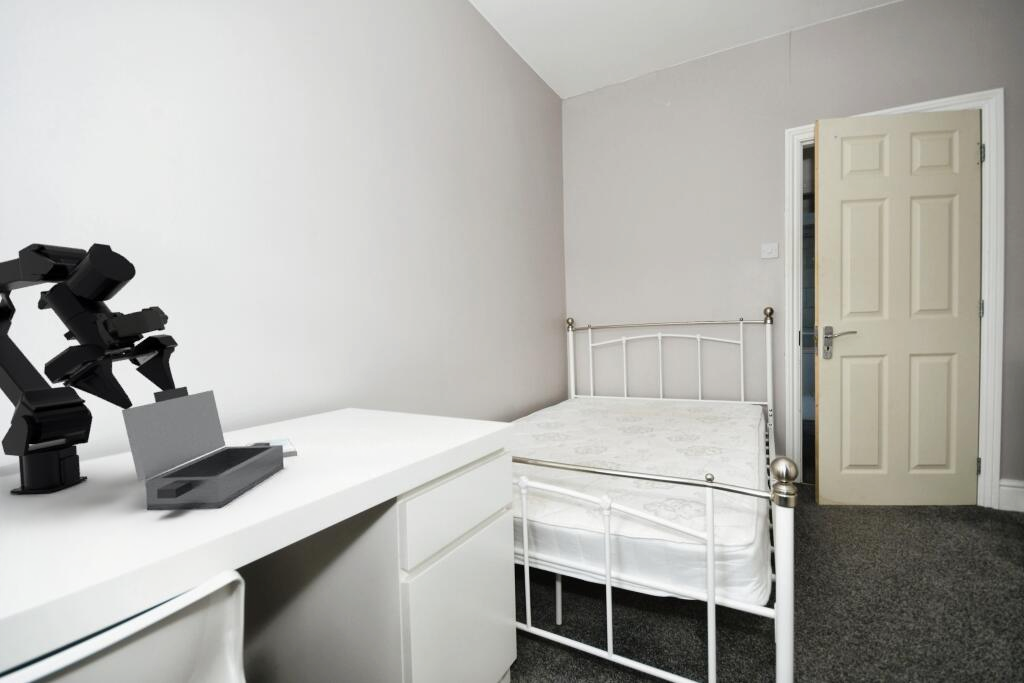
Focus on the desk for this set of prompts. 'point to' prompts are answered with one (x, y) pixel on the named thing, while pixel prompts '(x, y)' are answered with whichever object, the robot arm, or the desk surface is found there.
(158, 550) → the desk surface
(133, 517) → the desk surface
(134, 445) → the box lid
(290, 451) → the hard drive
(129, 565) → the desk surface
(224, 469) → the grey hinged box
